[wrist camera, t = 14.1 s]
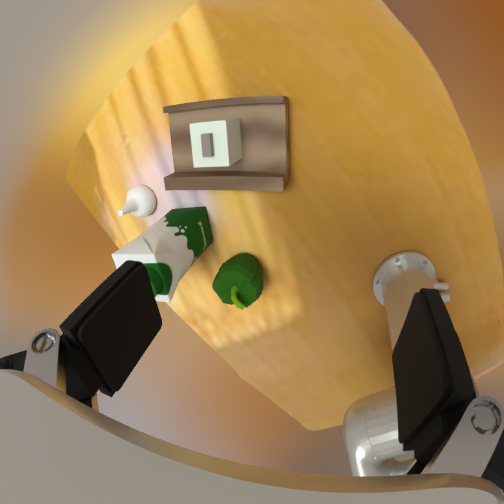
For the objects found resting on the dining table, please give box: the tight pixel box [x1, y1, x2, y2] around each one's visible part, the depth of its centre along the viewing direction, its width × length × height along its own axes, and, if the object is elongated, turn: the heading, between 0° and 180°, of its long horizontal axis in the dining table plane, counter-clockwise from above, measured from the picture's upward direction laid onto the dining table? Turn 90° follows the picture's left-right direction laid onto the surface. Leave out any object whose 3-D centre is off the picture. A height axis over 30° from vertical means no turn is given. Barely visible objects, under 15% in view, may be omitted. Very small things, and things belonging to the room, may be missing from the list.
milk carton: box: [112, 207, 213, 302], centre depth 43 cm, size 9×9×20 cm
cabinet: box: [189, 118, 242, 168], centre depth 36 cm, size 5×6×7 cm
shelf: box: [163, 96, 290, 192], centre depth 39 cm, size 13×18×7 cm
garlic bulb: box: [118, 185, 156, 217], centre depth 48 cm, size 6×6×8 cm
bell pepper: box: [213, 254, 263, 309], centre depth 49 cm, size 8×8×10 cm
